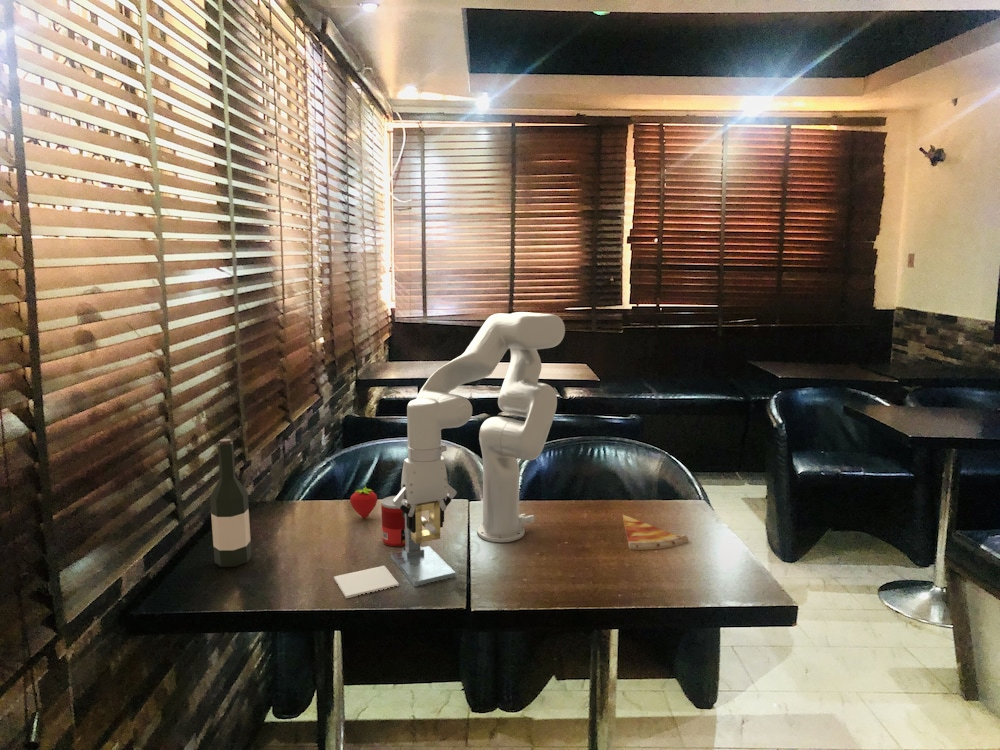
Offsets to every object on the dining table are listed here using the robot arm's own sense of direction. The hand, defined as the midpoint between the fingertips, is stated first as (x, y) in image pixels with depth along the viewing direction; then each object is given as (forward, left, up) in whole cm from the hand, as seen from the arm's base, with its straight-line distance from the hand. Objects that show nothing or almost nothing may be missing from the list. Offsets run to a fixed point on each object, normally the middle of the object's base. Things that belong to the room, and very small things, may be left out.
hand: (425, 527), depth 158 cm
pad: (+14, -1, -11) cm, 18 cm away
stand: (0, -2, -11) cm, 11 cm away
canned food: (0, -19, -11) cm, 22 cm away
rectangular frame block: (0, 0, -3) cm, 3 cm away
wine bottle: (+39, -27, -11) cm, 49 cm away
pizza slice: (-63, +7, -12) cm, 64 cm away
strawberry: (+3, -38, -11) cm, 40 cm away
